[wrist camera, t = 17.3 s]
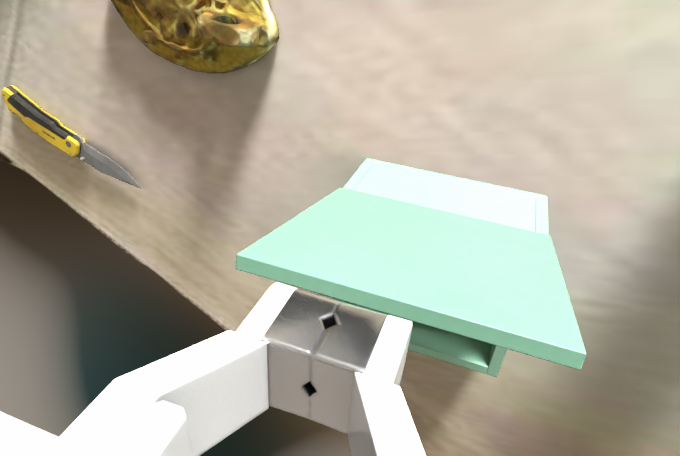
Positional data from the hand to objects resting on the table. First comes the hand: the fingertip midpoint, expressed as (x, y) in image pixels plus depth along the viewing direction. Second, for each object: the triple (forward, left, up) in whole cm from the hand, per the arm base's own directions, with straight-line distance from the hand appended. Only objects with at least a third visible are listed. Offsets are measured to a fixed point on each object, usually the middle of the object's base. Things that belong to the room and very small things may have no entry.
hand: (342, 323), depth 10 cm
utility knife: (+36, +13, -26) cm, 47 cm away
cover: (0, +7, -13) cm, 15 cm away
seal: (+21, -1, -26) cm, 34 cm away
